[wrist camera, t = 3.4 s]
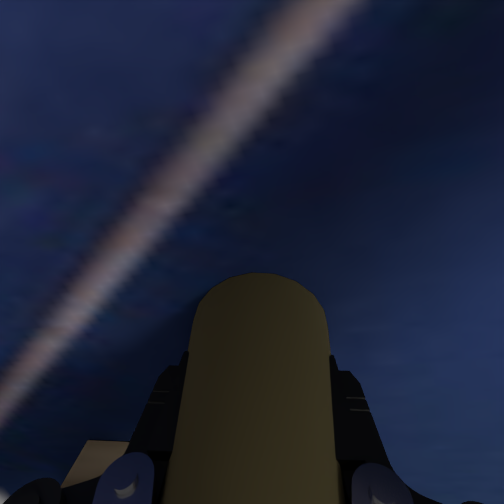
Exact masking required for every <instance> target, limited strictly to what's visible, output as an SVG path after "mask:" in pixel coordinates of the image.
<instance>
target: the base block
mask: <svg viewBox="0 0 504 504" xmlns="http://www.w3.org/2000/svg"><path fill="white" fill-rule="evenodd" d="M128 445H129V442H118V441H95V440H88V441H87V442H86V444H85V446H84V448H83V449H82V451H81V453H80V454H79V456H78V458H77V459H76V461H75V463H74V465H73V466H72V468H71V470H70V471H69V473H68V475H67V477H66V478H65V480H64V482H63V483H62V485H61V488H65V487H68V486H71V485H75V484H78V483H81V482H84V481H87V480H91V479H93V478H96V477H98V476H100V475H102V474H103V473H104V471H105V470H106V469H107V468H108V466H109V465H110V464H111V463H113V462H114V461H115V460H116V459H118V458H119V457H121V456H123V454H124V453H125V451H126V449H127V447H128Z"/></svg>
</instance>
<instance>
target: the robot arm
mask: <svg viewBox="0 0 504 504" xmlns="http://www.w3.org/2000/svg"><path fill="white" fill-rule="evenodd" d="M188 358H189V351H185V352H184V354H183V356H182V359H181V361H180V364H179V366H171V365H169V367H168V368H167V369H166V370H165V371H164V372H163V373H162V374H161V375H160V376H159V378H158V380H157V382H156V384H155V386H154V389H153V393H151V395H150V398H149V400H148V404H146V407H145V409H144V411H143V413H142V416H141V418H140V420H139V422H138V424H137V427H136V429H135V431H134V433H133V436H132V438H131V440H130V442H129V445H128V447H127V449H126V451H125V453H124V454H123V456H121V457H119V458H118V459H116V460H115V461H114V462H113V463H111V464H110V465H109V466H108V468H107V469H106V470H105V471H104V473H103V474H102V475H100V476H98V477H96V478H93V479H91V480H87V481H84V482H81V483H78V484H75V485H71V486H68V487H65V488H61V486H60V484H59V483H58V482H57V481H56V480H55V479H52V478H41V479H37V480H34V481H32V482H30V483H28V484H26V485H24V486H23V487H21V488H20V489H18V490H17V491H16V492H15V493H13V494H12V495H11V496H10V497H9V498H8V499H7V500H6V501H5V502H4V503H3V504H159V503H160V499H161V494H162V489H163V485H164V480H165V475H166V471H167V466H168V461H169V459H170V456H171V454H172V451H173V445H174V440H175V434H176V428H177V422H178V416H179V410H180V405H181V399H182V393H183V387H184V381H185V375H186V369H187V364H188ZM329 367H330V382H331V397H332V412H333V427H334V442H335V456H336V460H337V461H338V463H339V464H340V467H341V471H342V477H343V484H344V492H345V499H346V504H442V503H439V502H437V501H434V500H432V499H429V498H427V497H424V496H422V495H420V494H418V493H417V492H415V491H414V490H412V489H411V488H410V487H408V486H407V485H406V484H405V483H404V482H403V481H402V479H401V478H400V477H399V476H398V475H397V474H396V473H395V471H394V470H393V468H392V467H391V465H390V462H389V460H388V458H387V455H386V452H385V450H384V447H383V444H382V441H381V439H380V436H379V433H378V431H377V428H376V425H375V423H374V420H373V417H372V415H371V412H370V409H369V407H368V404H367V401H366V400H365V396H364V393H363V390H362V388H361V385H360V383H359V382H358V380H357V379H356V378H355V377H354V376H353V375H352V373H351V372H350V371H338V367H337V364H336V361H335V358H334V356H333V355H329ZM462 504H482V503H479V502H474V501H467V502H463V503H462Z"/></svg>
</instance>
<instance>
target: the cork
mask: <svg viewBox="0 0 504 504" xmlns="http://www.w3.org/2000/svg"><path fill="white" fill-rule="evenodd" d="M188 351H189V358H188V364H187V369H186V375H185V381H184V387H183V393H182V399H181V405H180V410H179V416H178V422H177V428H176V434H175V440H174V445H173V451H172V454H171V456H170V459H169V461H168V466H167V471H166V475H165V480H164V485H163V489H162V494H161V499H160V503H159V504H346V499H345V492H344V484H343V477H342V471H341V467H340V464H339V463H338V461H337V460H336V456H335V442H334V427H333V412H332V397H331V382H330V367H329V355H331V352H330V342H329V333H328V326H327V321H326V317H325V312H324V309H323V308H322V306H321V305H320V303H319V302H318V301H317V299H316V298H315V296H314V295H313V294H312V293H311V292H310V291H308V290H307V289H306V288H304V287H303V286H302V285H300V284H299V283H298V282H296V281H294V280H291V279H288V278H285V277H282V276H279V275H277V274H268V273H248V274H243V275H239V276H235V277H230V278H228V279H227V280H225V281H223V282H221V283H220V284H218V285H216V286H215V287H213V288H211V290H210V291H209V292H208V293H207V294H206V295H205V297H204V298H203V299H202V300H201V301H200V302H199V305H198V308H197V311H196V314H195V317H194V320H193V325H192V330H191V336H190V341H189V347H188Z"/></svg>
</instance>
